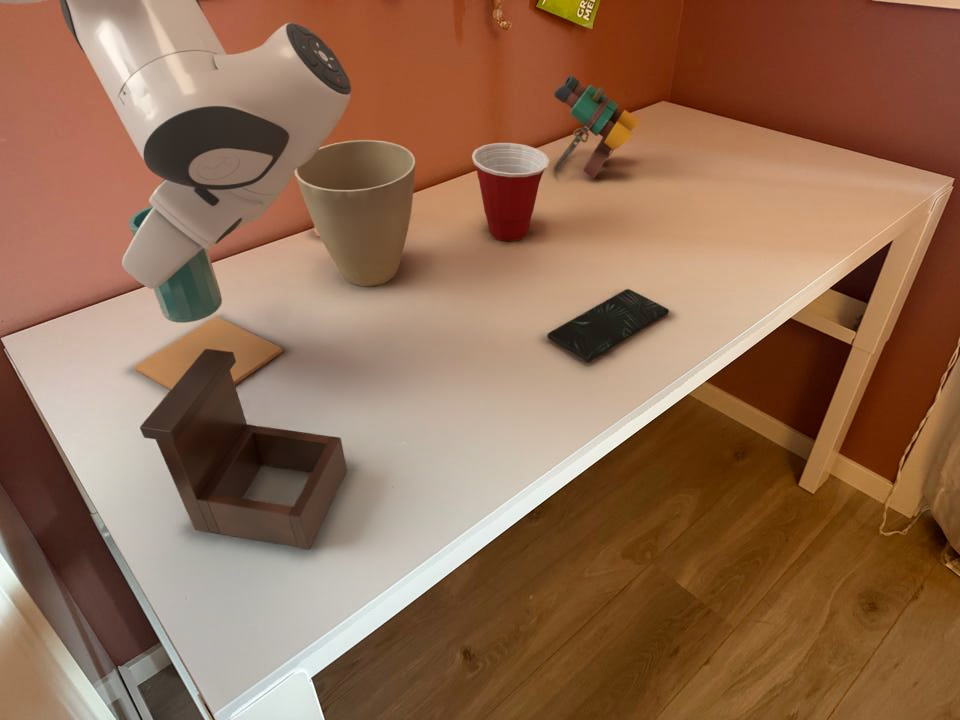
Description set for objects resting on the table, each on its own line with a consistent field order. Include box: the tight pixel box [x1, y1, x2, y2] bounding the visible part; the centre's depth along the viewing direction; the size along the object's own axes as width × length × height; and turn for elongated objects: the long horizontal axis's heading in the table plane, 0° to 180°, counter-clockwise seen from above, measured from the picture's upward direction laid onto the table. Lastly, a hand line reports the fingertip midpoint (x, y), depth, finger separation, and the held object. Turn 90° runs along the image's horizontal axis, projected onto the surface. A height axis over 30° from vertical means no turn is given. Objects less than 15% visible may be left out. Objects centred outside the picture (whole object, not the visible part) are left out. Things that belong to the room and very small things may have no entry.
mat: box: [133, 316, 284, 391], centre depth 84 cm, size 12×12×1 cm
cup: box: [128, 205, 223, 324], centre depth 76 cm, size 6×6×11 cm
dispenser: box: [139, 349, 348, 550], centre depth 64 cm, size 12×10×13 cm
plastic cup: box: [471, 142, 550, 242], centre depth 103 cm, size 11×11×12 cm
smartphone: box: [547, 288, 670, 364], centre depth 87 cm, size 7×1×15 cm
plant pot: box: [293, 139, 416, 287], centre depth 94 cm, size 15×15×16 cm
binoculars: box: [552, 74, 641, 179], centre depth 120 cm, size 14×14×15 cm
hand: (170, 255), depth 76 cm, fingers closed on cup, 6 cm apart
